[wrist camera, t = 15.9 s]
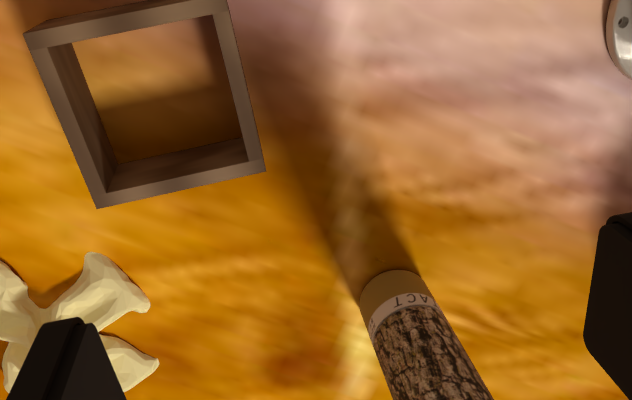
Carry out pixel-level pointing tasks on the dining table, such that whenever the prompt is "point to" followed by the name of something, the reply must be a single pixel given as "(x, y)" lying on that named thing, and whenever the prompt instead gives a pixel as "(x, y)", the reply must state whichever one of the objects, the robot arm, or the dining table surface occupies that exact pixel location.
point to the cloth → (78, 301)
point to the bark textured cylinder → (416, 341)
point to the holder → (85, 124)
